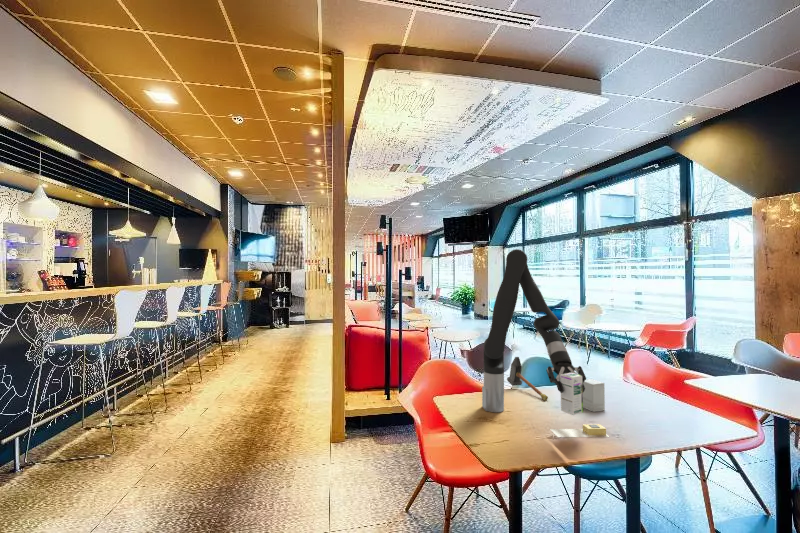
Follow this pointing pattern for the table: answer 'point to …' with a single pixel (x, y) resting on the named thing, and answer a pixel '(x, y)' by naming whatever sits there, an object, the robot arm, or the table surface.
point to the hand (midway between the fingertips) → (572, 391)
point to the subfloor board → (573, 433)
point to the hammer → (521, 377)
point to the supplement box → (594, 395)
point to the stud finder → (594, 429)
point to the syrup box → (572, 393)
